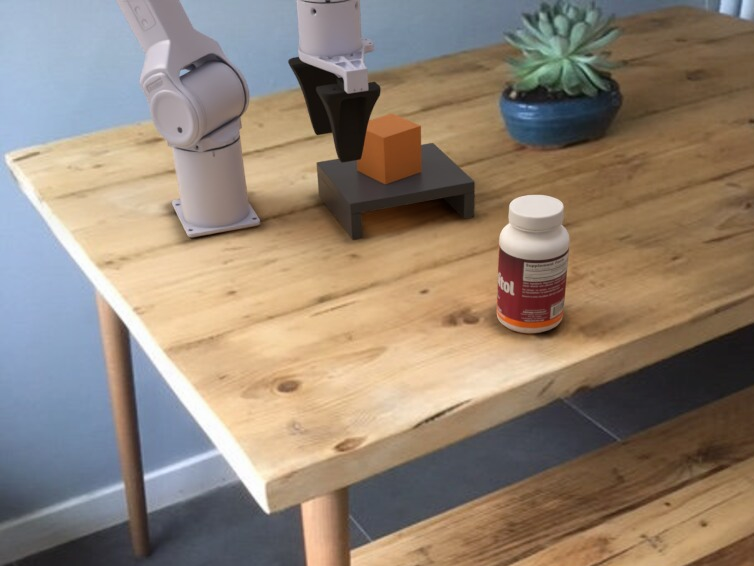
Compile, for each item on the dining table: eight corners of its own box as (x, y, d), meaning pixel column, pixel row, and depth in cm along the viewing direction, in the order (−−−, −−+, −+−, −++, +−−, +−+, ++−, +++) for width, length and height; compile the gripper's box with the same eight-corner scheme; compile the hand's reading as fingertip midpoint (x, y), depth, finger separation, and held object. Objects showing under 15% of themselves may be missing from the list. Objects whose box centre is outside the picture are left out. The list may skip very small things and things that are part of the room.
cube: (385, 184, 110) (383, 137, 107) (357, 170, 113) (354, 124, 110) (421, 172, 113) (421, 125, 109) (393, 158, 116) (391, 113, 112)
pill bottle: (490, 304, 98) (494, 192, 91) (555, 299, 99) (564, 187, 92) (502, 338, 94) (507, 223, 87) (569, 333, 94) (580, 217, 87)
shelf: (318, 196, 118) (316, 162, 115) (433, 176, 121) (433, 142, 119) (352, 240, 110) (350, 203, 107) (474, 217, 113) (475, 181, 110)
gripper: (398, 9, 89) (402, 165, 98) (343, -29, 99) (351, 115, 108) (320, 20, 87) (331, 178, 96) (272, -21, 97) (286, 126, 106)
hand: (337, 146), depth 102 cm, fingers open, 7 cm apart
